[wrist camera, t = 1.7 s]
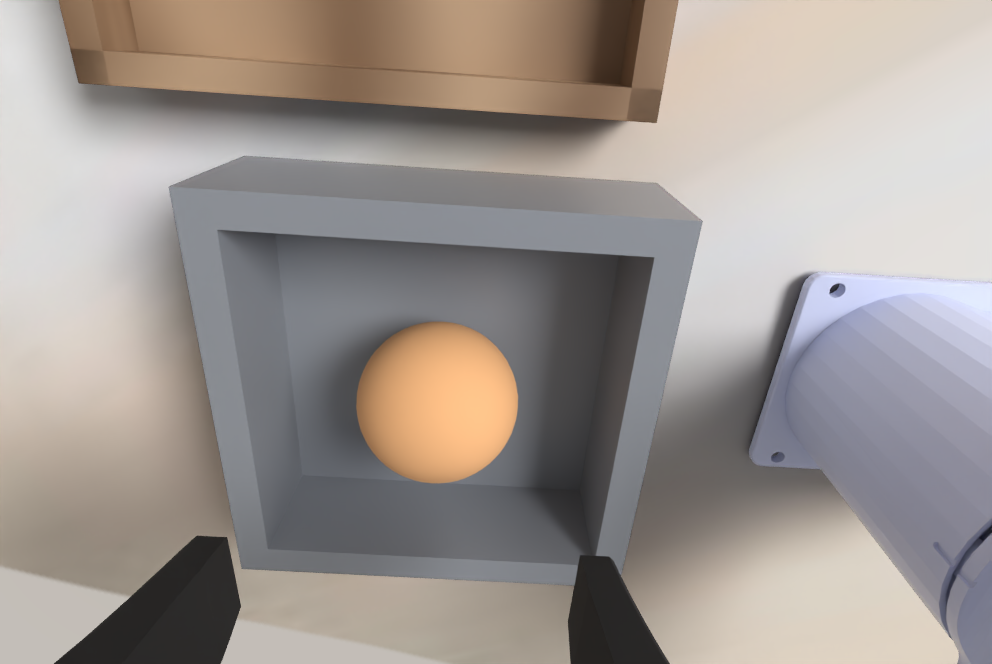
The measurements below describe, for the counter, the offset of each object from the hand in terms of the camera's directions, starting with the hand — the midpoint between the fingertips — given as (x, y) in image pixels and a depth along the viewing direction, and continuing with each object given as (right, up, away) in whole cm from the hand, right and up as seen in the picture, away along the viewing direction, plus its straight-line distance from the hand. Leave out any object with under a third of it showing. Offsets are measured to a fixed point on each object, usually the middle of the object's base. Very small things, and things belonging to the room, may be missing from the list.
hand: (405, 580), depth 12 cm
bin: (0, +4, +9) cm, 10 cm away
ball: (0, +3, +6) cm, 7 cm away
